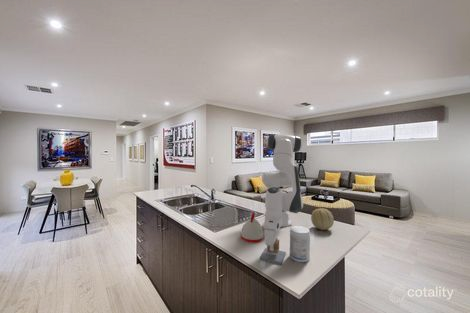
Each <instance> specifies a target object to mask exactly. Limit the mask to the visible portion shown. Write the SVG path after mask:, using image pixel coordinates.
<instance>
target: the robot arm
mask: <svg viewBox="0 0 470 313" xmlns="http://www.w3.org/2000/svg"><path fill="white" fill-rule="evenodd" d="M266 146H267V149H268V150H271V151H273V157H272V163H273V167H274V168H275V169H277V171H268V172H264V173H263V174H262V177H261V182H262V184H263V185H264V186H265V187H266V188H267V190H266V193H265V201H264V202H265V203H264V207H265V212H264V222H263V226H262V227H263V229H264V230H263V236H264V244H265V246H270V251H273V250H274V243H275V241H276V239H278V237H279V235H280V233H281V227H282V228H283V227H290V226H291V227H292V219H291V218H290V217H289V213H292V214H298V213H300V212H301V211H302V210H303V208H304V200H303V196H302V189H301V188H302V187H301V182H300V181H301V180H300V171H299V168H298V166H297V164H295V163H294V161H293V160H294V159H293V157H294V156H293V155H294V153H298V152H299V151H300V150H301V149H302V146H303V142H302V138H301V137H300V136H298V135H291V134H273V133H272V134H270V135H269V136H268V137H267V139H266ZM280 187H285V188H286V187H292V192H284V191H283V190H282V189H281V188H280Z"/></svg>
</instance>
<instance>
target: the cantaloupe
mask: <svg viewBox="0 0 470 313" xmlns="http://www.w3.org/2000/svg"><path fill="white" fill-rule="evenodd" d="M334 219H335V218H334V216H333V214H332V212H331V211H329V209H327V208H321V207H320V206H318V207H317V208H316V209H314V210H313V211H312V212H311V216H310V220H311V223H312V225H313V226H314V227H315V228H316V229H318V230H322V231H326V230H329V229H330V228H332V227H333V226H334V221H335V220H334Z"/></svg>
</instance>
